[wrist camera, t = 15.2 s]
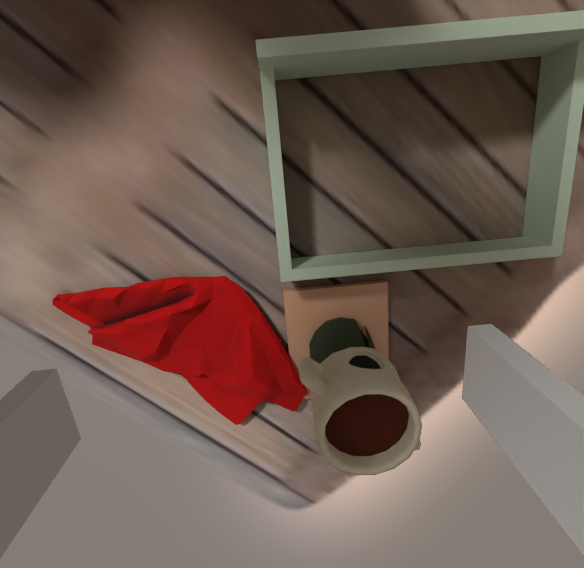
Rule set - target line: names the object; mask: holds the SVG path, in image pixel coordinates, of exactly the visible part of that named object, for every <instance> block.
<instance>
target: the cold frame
mask: <svg viewBox="0 0 584 568" xmlns="http://www.w3.org/2000/svg"><path fill="white" fill-rule="evenodd" d="M256 49H257V59H258V64H259V69H260V77H261V87H262V97H263V107H264V117H265V127H266V137H267V147H268V157H269V167H270V177H271V186H272V196H273V206H274V216H275V226H276V236H277V246H278V256H279V266H280V276H281V282H288V281H299V280H309V279H320V278H331V277H342V276H352V275H363V274H374V273H385V272H395V271H406V270H417V269H428V268H438V267H449V266H460V265H470V264H481V263H492V262H503V261H513V260H524V259H535V258H546V257H556V256H562V253H563V246H564V239H565V232H566V225H567V218H568V211H569V204H570V197H571V190H572V183H573V176H574V169H575V162H576V155H577V148H578V141H579V134H580V127H581V120H582V113H583V105H584V10H582V11H571V12H560V13H549V14H538V15H526V16H515V17H504V18H493V19H482V20H471V21H460V22H448V23H437V24H426V25H415V26H404V27H393V28H382V29H370V30H359V31H348V32H337V33H326V34H315V35H303V36H292V37H281V38H270V39H259V40H256ZM540 56H541V65H540V74H539V83H538V93H537V102H536V112H535V121H534V130H533V140H532V149H531V158H530V168H529V177H528V187H527V196H526V205H525V215H524V224H523V233H522V237H514V238H504V239H493V240H482V241H471V242H461V243H450V244H439V245H428V246H417V247H407V248H396V249H385V250H374V251H364V252H353V253H342V254H331V255H321V256H310V257H299V258H291V255H290V243H289V232H288V221H287V210H286V199H285V188H284V177H283V166H282V155H281V144H280V133H279V122H278V111H277V100H276V89H275V80H285V79H296V78H307V77H318V76H329V75H340V74H351V73H363V72H374V71H385V70H396V69H407V68H418V67H429V66H440V65H451V64H462V63H473V62H484V61H495V60H506V59H518V58H529V57H540Z"/></svg>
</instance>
